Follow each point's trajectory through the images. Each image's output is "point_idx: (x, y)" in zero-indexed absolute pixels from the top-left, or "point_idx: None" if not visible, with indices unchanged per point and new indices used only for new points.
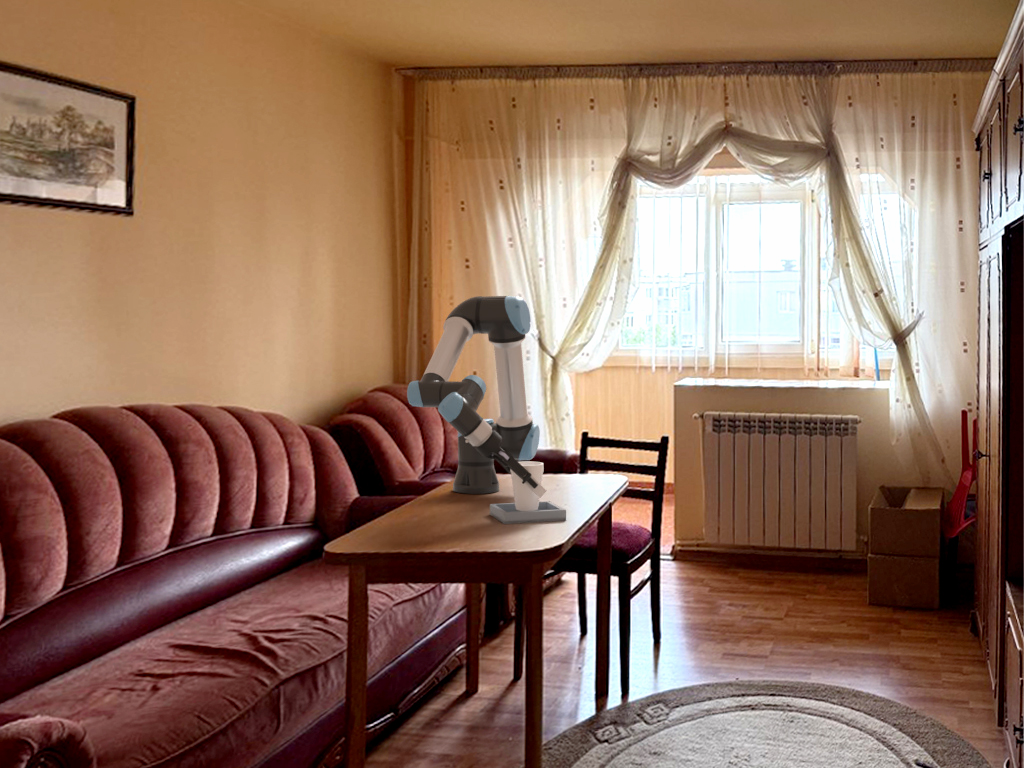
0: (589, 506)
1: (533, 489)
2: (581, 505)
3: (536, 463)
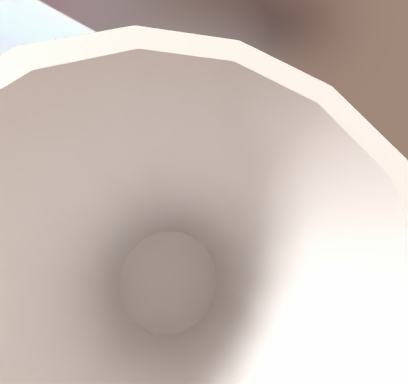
0: (54, 31)
1: None
2: (24, 41)
3: (69, 81)
